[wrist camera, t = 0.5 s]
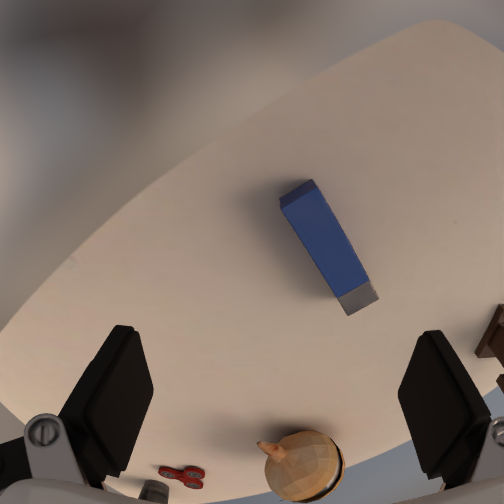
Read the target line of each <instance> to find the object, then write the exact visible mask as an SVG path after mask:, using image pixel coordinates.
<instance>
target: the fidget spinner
mask: <svg viewBox="0 0 504 504" xmlns="http://www.w3.org/2000/svg"><path fill="white" fill-rule="evenodd" d="M158 473H159V474H160V475H161V476H163V477H165V478H169V479H177V480H179V481H181V482H183V483H184V485H185V486H186V487H189V488H192V489H202V488H203V483H202V482H200V481H198V480H196V479H203V478H204V477H205V472H204V471H202V470H200V469H198V468H192V467H189V468H186V469H185V471H182V472H179V471H175V470H172V469H170V468H164V467H163V468H159V471H158Z"/></svg>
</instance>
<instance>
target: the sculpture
mask: <svg viewBox="0 0 504 504" xmlns="http://www.w3.org/2000/svg"><path fill="white" fill-rule="evenodd" d="M257 445H258V447H259V448H260V449H262V450H263V451H264V452H265V453H266V454H267V455H269V456H268V458H267V460H266V464H265V476H266V479H267V482H268V484H269V487H270V489H271V490H273V491H274V492H275V493H276V494H277V495H279V496H280V497H281V498H282V499H283V500H290V501H292V502H300V503H308V502H312V501H316V500H319V499H321V498H324V497H325V496H326V495H328V494H329V493H331V492H332V491H333V490H335V489H336V488H337V486H338V485H339V483H340V482H341V480H342V479H343V476H344V469H345V462H344V458H343V454H342V452H341V450H340V449H339V448H338V446H337V445H336V444H335V443H334V441H333V440H332V439H331V438H329V437H327V436H325V435H323V434H321V433H319V432H316V431H301V432H298V433H296V434H293V435H290V436H286V437H283V438H282V439H281V440H280V441H279V442H278V443H277V444H274V443H269V442H265V441H259V442H257Z"/></svg>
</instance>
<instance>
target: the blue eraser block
mask: <svg viewBox="0 0 504 504" xmlns="http://www.w3.org/2000/svg"><path fill="white" fill-rule="evenodd" d="M280 207H281V211H282V212H283V214H284V215H285V217H286V218H287V220H288V221H289V223H290V224H291V226H292V227H293V229H294V231H295V232H296V234H297V235H298V237H299V238H300V240H301V241H302V243H303V245H304V246H305V248H306V249H307V251H308V252H309V254H310V256H311V257H312V259H313V260H314V262H315V264H316V265H317V267H318V268H319V270H320V272H321V273H322V275H323V276H324V278H325V280H326V281H327V283H328V285H329V286H330V288H331V289H332V291H333V293H334V294H335V296H336V298H337V299H338V301H339V303H340V304H341V306H342V308H343V309H344V311H345V313H346V314H347V316H349V315H351V314H353V313H355V312H357V311H358V310H360V309H362V308H364V307H366V306H368V305H369V304H371V303H373V302H375V301H377V300H378V299H379V297H378V295H377V293H376V291H375V289H374V288H373V286H372V284H371V282H370V280H369V278H368V276H367V274H366V272H365V270H364V268H363V266H362V264H361V263H360V261H359V259H358V257H357V255H356V253H355V251H354V250H353V248H352V246H351V244H350V242H349V240H348V239H347V237H346V235H345V233H344V231H343V230H342V228H341V226H340V224H339V223H338V221H337V219H336V217H335V216H334V214H333V212H332V210H331V209H330V207H329V205H328V204H327V202H326V200H325V199H324V197H323V195H322V194H321V192H320V190H319V189H318V187H317V186H316V184H315V183H314V181H313V180H312V179H311V180H309V181H308V182H306V183H304V184H303V185H301V186H299V187H298V188H296V189H295V190H293V191H291V192H290V193H288V194H286V195H285V196H283V197H281V198H280Z"/></svg>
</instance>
